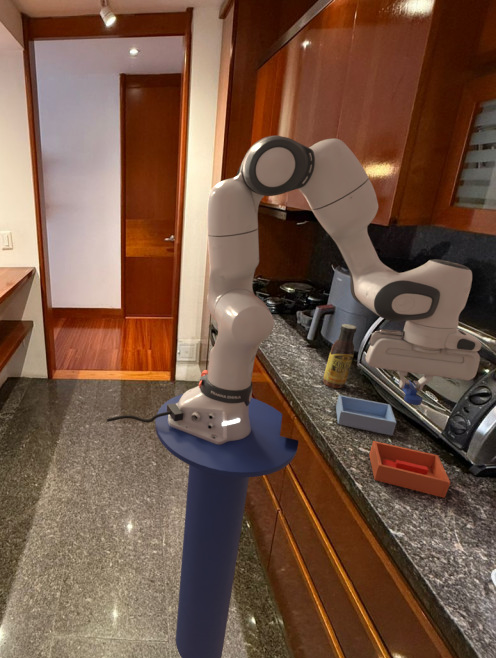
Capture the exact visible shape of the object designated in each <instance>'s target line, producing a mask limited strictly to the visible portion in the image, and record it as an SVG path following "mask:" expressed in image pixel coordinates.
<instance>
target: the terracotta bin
mask: <svg viewBox="0 0 496 658" xmlns="http://www.w3.org/2000/svg"><path fill="white" fill-rule="evenodd" d="M368 456H369V460H370V464H371V465H370V466H371V470H372V475H373V479H374V481H376V482H382V483H385V484H389V485H393V486H397V487H401V488H405V489H408V490H413V491H416V492H420V493H423V494H427V495H433V496H435V497H439V498H443V499H445V498H446V495H447V493H448V490H449V489H450V486H451V480H450V478H449V476H448V474H447V472H446V469H445V467H444V466H443V462H442V461H441V458H440V457H439V454H435V453H430V452H425V451H421V450H416V449H412V448H407V447H402V446H398V445H394V444H389V443H384V442H380V441H375V440H373V441H372V444H371V447H370V451H369V455H368ZM383 460H391V461H393V462H396V460H400V461H404V462H408V463H413V464H417V465H421V466H426V467H427V468H428V473H427V475H423V474H419V473H415V472H411V471H407V470H403V469H398V468H394V467H390V466H386V465H382V461H383Z"/></svg>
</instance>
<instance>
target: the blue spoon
mask: <svg viewBox="0 0 496 658" xmlns="http://www.w3.org/2000/svg"><path fill="white" fill-rule="evenodd" d="M408 380H409V379H408ZM409 382H410V386H409V388H408V389H404V388H401V390H402V391H403V393H404V397H403V400H404V402H405V403H407V404H409V405H412V406H421V405H422V403H423V397H422V396H420V395H418V394H417V393H418V391H417V390H416V389H415V387H414V386H413V382H412V381H411V380H409Z"/></svg>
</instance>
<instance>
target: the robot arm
mask: <svg viewBox="0 0 496 658" xmlns="http://www.w3.org/2000/svg"><path fill="white" fill-rule="evenodd" d="M245 153H246V154H245V155H244V157H243V159H242V162H241V164H240V166H239V168H238V169H237V173H236V175H235V176H234V177H231V178H227V179H224V180H221V181H219V182H218V183H216V184H215V185H214V186H212V188H211V189H210V191H209V193H208V199H207V206H206V207H207V208H206V209H207V210H206V232H207V233H206V235H207V246H208V259H209V279H208V289H207V290H208V291H207V297H206V303H207V304H206V305H207V309H208V312H209V314H210V316H211V318H213V319H214V321H215V322H216V325H217V335H216V340H215V343H214V345H213V347H212V348H211V349H210V351H209V357H208V369H204V370H202V372H201V373H200V378H199V383H198V385H197V386H195V387H192V388H190V389H188V390H186V391H185V392H184V393H182V394H183V395H182V397H181V398H180V400H179V402H178V403H176V404H175V403H174V404H168V405H167V412H164V413H160V414H157V413H156V414H155V415H153V416H152V417H151V418H142V417H139V416H136V415H132V414H131V415H130V414H128V415H126V414H125V415H119V416H113V417H108V418H106V423H107V422H108V423H109V422H113V421H118V420H122V419H124V420H125V419H131V420H135V421H139V422H142V423H152V422H155V421H156V418H158V417H161V416H165V415H168V423H169V425H170V426H171V427H173V428H176V429H179V430H181V431H184V432H186V433H189V434H191V435H194V436H197V437H199V438H202V439H204V440H207V441H209V442H212V443H215V444H218V445H220V444H224V443H226V442H228V441H235V440H240V439H243V438H245V437H247V436H248V435H249V434H250V432H251V426H250V420H249V403H250V401H251V398H252V395H253V382H252V379H253V372H254V371H253V370H254V365H255V361H256V356H257V352H258V350H259V348H260V346H261V343H263V342H264V341H266V340H267V339H268V338H269V337H270V335H271V333H272V332H273V330H274V325H275V322H274V316H273V314H272V313H271V310H270V308H269V307H268V306H267V304H266V303H265V301H263V300H262V299H260V298H259V297H258V296H256V294H255V293H254V289H253V284H254V283H253V282H254V277H255V273H256V269H257V267H258V266H259V263H260V244H259V240H260V239H259V219H258V218H259V206H260V204H261V201H262V199H263V198H264V197H275V196H279V195H280V196H281V195H283V194H286V193H288V192H292V191H295V190H298V191H299V192H300V193H301V194H302V195H303V197H304V198H305V200H306V202H307V204H308V206H309V208H310V209H311V212H312V213H313V215H314V217H315V218H316V220H317V222H318V223H319V224H320V225H321V227H322V228H323V229H324V230H325V232H326V233H327V234H328V235H329V236H330V238H331V239H332V240H333V242H334V243H335V245H336V247H337V249H338V251H339V253H340V255H341V257H342V259H343V261H344V263H345V265H346V267H347V269H348V272H349V279H350V283H349V284H350V285H349V287H350V288H349V289H350V293H351V296H352V298H353V299H354V301H355V302H357V303H358V304H360V305H362V306H363V307H365V308H367V309H368V310H370V311H371V312H373V313H374V314H375V315H376V316H378V317H379V318H381V319H384V320H386V321H390V322H405V323H404V327H403V330H395V329H394V330H393V329H386V328H381V329H380V330H376V331H373V332H372V333H371V335H370V339H369V347H368V349H367V351H366V354H365V361H366V363H367V365H368V366H369V367H370V368H373V369H381V370H388V371H389V370H390V371H395V372H397V375H398V377H399V379H400V380H399V383H398V386H399V388H400V389H402V388H404V389H408V388H409V386H410V382H409V379H406V378H405V377H407V376H408V374H409V373H411V374H418V375H422V377H420V379H418V380H413V382H412V384H413V386H414V387H415V389H416V390H417V392H422V391H423V388H424V386H426V385H427V384H428V383H429V382H431V381H432V380H433V377H439V378H440V377H441V378H446V379H447V378H448V379H453V380H455V379H456V380H463V381H470V380H472V379H475V377H476V375H477V373H478V369H479V365H480V360H481V357H480V354H479V353H478V352H479V351H480V350H481V348H482V347H483V346H482V343H481V341H480V340H479V339H478V338H476V337H475V336H474V335H472V334H470V333H468V332H467V331H464V330H461V329H459V328H458V327H459V318H460V314H461V312H462V311H463V310H464V309H465V307H466V304H467V302H468V298H469V294H470V292H471V288H472V282H473V271H472V270H471V269H470V268H469V267H468V266H466V265H464V264H460V263H457V262H453V261H450V260H445V259H438V258H433V259H429V260H428V261H427V262H425V263H424V264H421V265H420V266H418V267H416V268H413V269H410V270H406V271H404V272H398V271H396V270H394V269H393V268H391V267H389V266H388V265H386V264H385V263H383V262H382V260H380V258H379V256H378V253H377V251H376V248H375V247H374V244H373V242H372V240H371V238H370V236H369V233H368V226H369V225H370V224H371V223H372V222H373V221H374V219H375V217H376V215H377V213H378V211H379V202H378V198H377V194H376V191H375V188H374V186H373V184H372V182H371V180H370V177H369V176H368V174H367V172H366V170H365V168H364V167H363V165H362V163H361V162H360V160H359V159H358V158H357V156H356V155H355V153H354V152H353V151H352V150H351V149H350V148H349V147H348V145H347V144H346V143H345V142H344V141H343V140H341V139H339V138H334V137H333V138H327V139H321V140H320V141H318V142H316V143H314V144H312V145H311V146H309V147H308V146H307V145H304V144H302V143H300V142H298V141H296V140H294V139H292V138H289V137H286V136H282V135H267V136H265V137H263V138H260V139H259V140H257V141H256V142H254V143H253V144H252V145H251V146H250V147H249V149H248V150H247V152H245Z"/></svg>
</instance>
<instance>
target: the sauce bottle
mask: <svg viewBox="0 0 496 658" xmlns="http://www.w3.org/2000/svg"><path fill="white" fill-rule="evenodd" d="M339 328H340V331H339V335H338V338H337V339H336V340H334V342H333V344H332V345H331V349H330V352H329V355H328V359H327V362H326V366H325V370H324V372H323V373H324V374H323V382H322V383H323V384H324V385H325V386H326V387H330V388H333V389H342V388H344V386H345V384H346V383H347V380H348V376H349V373H350V369H351V365H352V361H353V359H354V353H355V344H354V337H355V335H356V333H357V326H355V325H353V324H348V323H343V324H341V326H340V327H339Z"/></svg>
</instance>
